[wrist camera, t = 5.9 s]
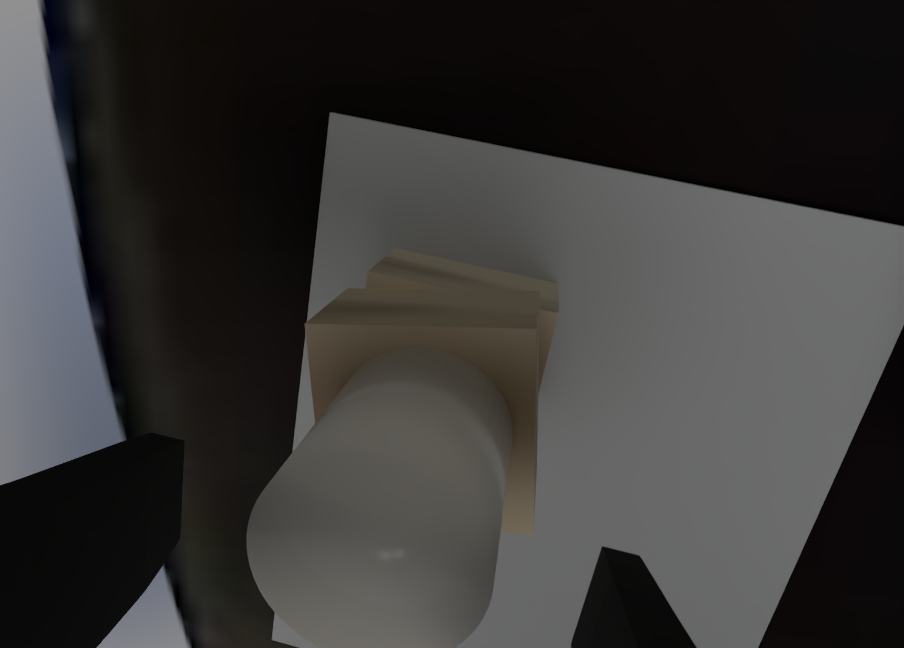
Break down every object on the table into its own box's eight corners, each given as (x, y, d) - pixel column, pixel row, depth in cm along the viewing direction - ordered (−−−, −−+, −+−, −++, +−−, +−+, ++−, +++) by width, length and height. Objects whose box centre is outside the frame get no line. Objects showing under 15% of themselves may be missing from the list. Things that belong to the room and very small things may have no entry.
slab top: (536, 467, 17) (533, 535, 15) (361, 457, 18) (325, 519, 15) (539, 290, 16) (536, 328, 13) (347, 288, 17) (304, 323, 14)
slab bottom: (521, 430, 20) (516, 480, 18) (372, 394, 21) (344, 438, 18) (558, 283, 19) (558, 313, 16) (395, 247, 19) (367, 271, 16)
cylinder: (497, 523, 15) (473, 689, 10) (330, 488, 15) (242, 634, 11) (527, 365, 13) (514, 483, 9) (344, 331, 14) (250, 428, 9)
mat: (704, 750, 24) (707, 760, 23) (276, 631, 25) (271, 639, 25) (935, 232, 17) (944, 235, 17) (334, 112, 19) (329, 112, 18)
